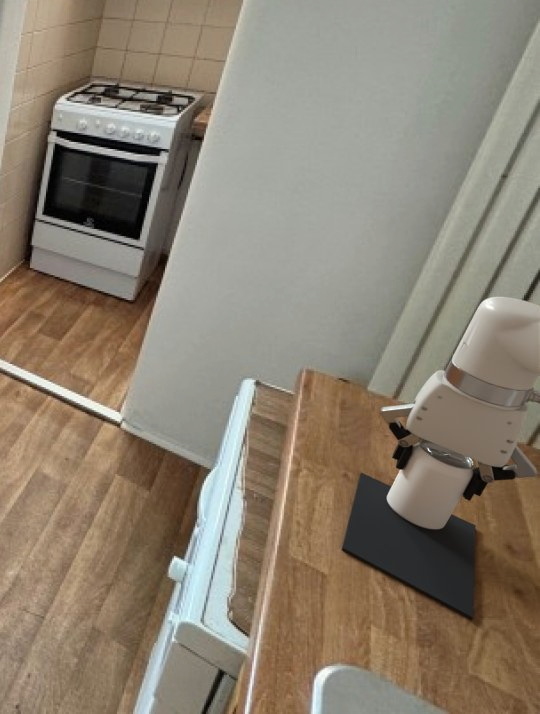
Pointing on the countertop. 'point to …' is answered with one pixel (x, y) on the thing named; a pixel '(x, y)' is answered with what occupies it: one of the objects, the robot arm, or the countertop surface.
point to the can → (430, 485)
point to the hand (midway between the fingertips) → (432, 478)
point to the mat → (413, 548)
